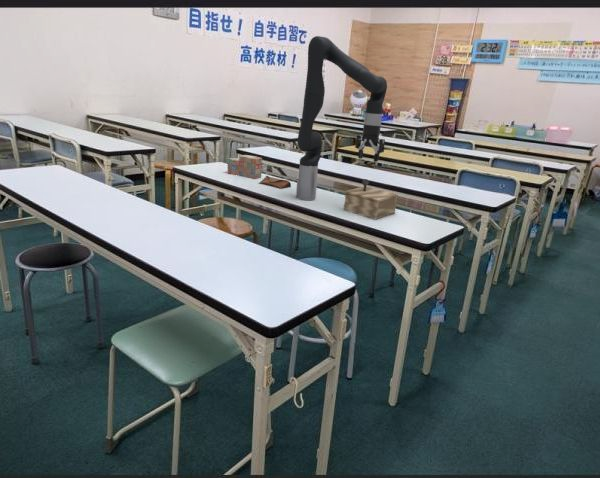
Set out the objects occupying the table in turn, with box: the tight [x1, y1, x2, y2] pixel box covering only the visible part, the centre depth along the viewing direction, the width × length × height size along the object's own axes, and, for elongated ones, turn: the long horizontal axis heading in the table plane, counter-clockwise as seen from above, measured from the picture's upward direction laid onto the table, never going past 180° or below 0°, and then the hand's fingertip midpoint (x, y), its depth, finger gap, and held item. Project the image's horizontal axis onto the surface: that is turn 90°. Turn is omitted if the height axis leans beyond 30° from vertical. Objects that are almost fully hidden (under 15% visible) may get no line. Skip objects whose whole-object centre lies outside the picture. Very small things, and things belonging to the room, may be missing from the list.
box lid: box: [344, 178, 399, 202], centre depth 203 cm, size 19×16×7 cm
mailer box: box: [343, 193, 398, 221], centre depth 206 cm, size 18×16×8 cm
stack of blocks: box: [226, 154, 263, 180], centre depth 263 cm, size 21×6×12 cm, turn 59°
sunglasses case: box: [257, 175, 292, 190], centre depth 247 cm, size 18×7×7 cm, turn 55°
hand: (368, 159), depth 202 cm, fingers open, 8 cm apart
